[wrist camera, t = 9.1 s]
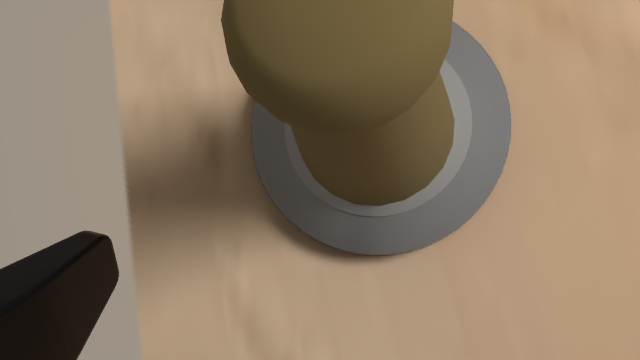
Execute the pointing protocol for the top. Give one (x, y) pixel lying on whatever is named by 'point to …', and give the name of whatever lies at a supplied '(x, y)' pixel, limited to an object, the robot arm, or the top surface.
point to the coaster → (426, 205)
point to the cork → (351, 87)
